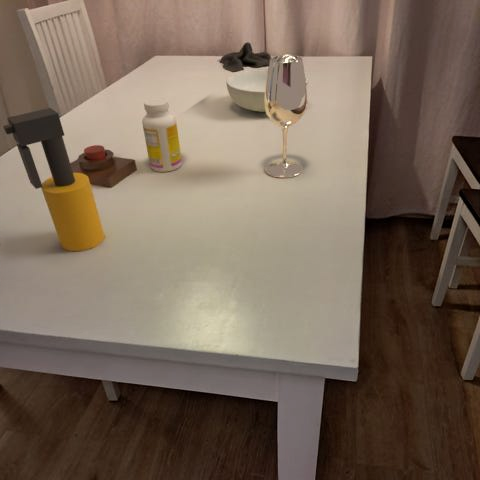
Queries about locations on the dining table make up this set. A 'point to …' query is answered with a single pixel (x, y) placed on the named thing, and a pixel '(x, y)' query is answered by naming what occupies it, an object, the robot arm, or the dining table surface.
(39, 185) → the trigger
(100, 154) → the button
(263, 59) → the cloth
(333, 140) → the dining table surface
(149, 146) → the supplement bottle
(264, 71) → the serving bowl
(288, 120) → the wineglass
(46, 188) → the spray bottle
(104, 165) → the button block
